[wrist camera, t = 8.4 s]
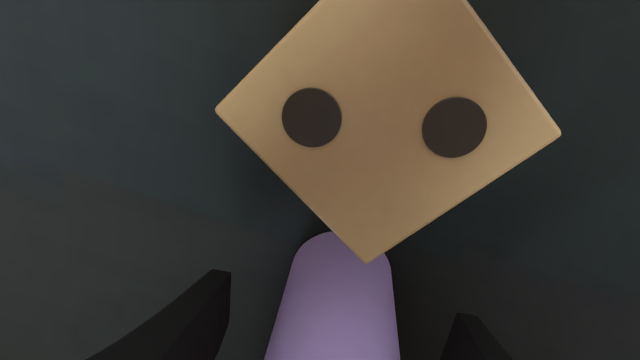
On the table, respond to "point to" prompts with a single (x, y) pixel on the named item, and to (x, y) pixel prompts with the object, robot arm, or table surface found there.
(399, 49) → the birch pen block
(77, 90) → the table surface
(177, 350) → the robot arm
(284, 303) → the glue stick
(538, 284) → the table surface
